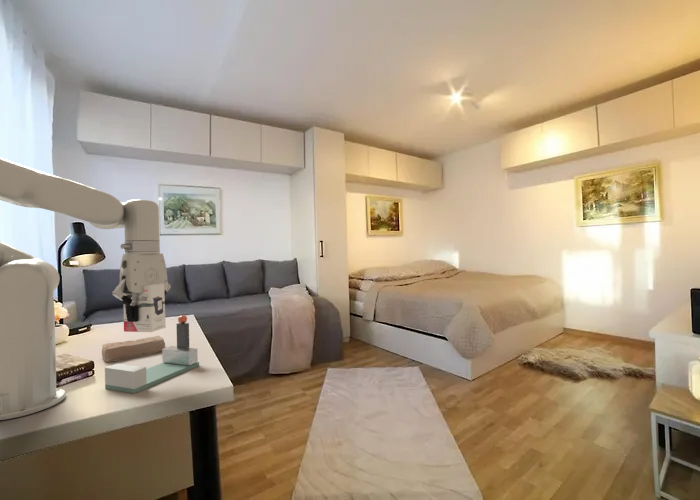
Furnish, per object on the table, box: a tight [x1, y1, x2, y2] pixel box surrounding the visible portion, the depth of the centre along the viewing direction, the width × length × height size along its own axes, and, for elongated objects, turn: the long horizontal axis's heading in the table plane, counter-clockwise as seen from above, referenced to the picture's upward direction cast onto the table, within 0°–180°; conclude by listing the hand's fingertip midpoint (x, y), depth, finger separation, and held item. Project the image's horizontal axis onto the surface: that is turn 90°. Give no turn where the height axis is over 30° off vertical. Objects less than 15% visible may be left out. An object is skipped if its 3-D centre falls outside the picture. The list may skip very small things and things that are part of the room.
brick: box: [101, 335, 166, 363], centre depth 104 cm, size 16×8×5 cm, turn 133°
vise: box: [104, 361, 200, 394], centre depth 84 cm, size 19×10×5 cm, turn 160°
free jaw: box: [161, 314, 199, 365], centre depth 92 cm, size 4×10×13 cm, turn 70°
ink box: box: [122, 283, 166, 333], centre depth 81 cm, size 8×5×12 cm, turn 78°
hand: (144, 318), depth 81 cm, fingers closed on ink box, 5 cm apart
